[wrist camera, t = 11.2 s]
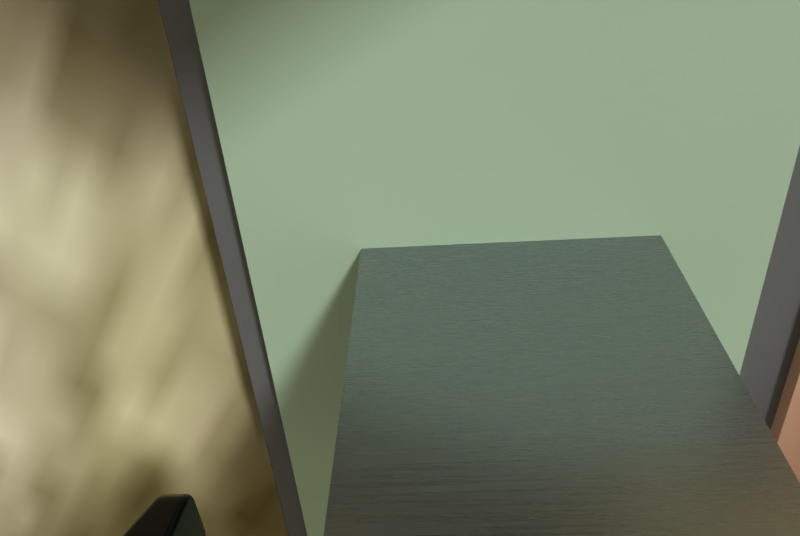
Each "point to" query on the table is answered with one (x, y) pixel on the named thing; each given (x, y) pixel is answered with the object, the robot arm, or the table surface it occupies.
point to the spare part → (546, 400)
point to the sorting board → (488, 169)
